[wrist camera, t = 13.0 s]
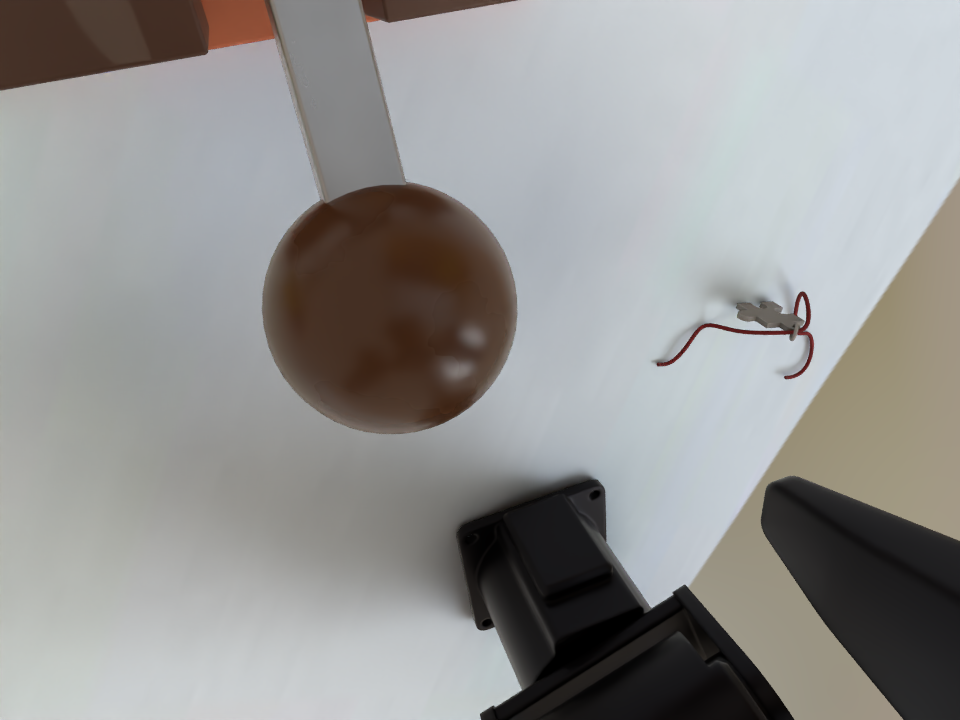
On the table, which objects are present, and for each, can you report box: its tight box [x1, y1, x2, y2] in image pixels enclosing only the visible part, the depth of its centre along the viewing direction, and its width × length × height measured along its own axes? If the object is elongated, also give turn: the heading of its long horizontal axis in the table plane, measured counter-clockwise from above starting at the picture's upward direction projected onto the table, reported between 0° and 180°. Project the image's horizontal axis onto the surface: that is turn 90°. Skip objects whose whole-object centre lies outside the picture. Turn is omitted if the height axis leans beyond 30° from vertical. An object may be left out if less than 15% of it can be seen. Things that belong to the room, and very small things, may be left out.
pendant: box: [657, 292, 814, 379], centre depth 26 cm, size 8×4×3 cm, turn 84°
